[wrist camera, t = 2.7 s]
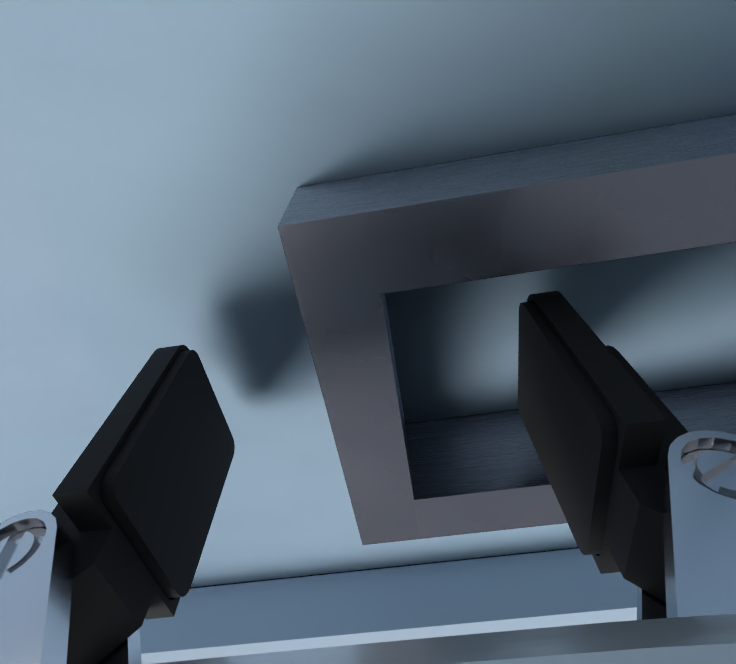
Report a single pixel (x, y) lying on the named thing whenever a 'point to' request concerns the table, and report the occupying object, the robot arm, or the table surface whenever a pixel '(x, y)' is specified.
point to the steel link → (480, 261)
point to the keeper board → (390, 606)
